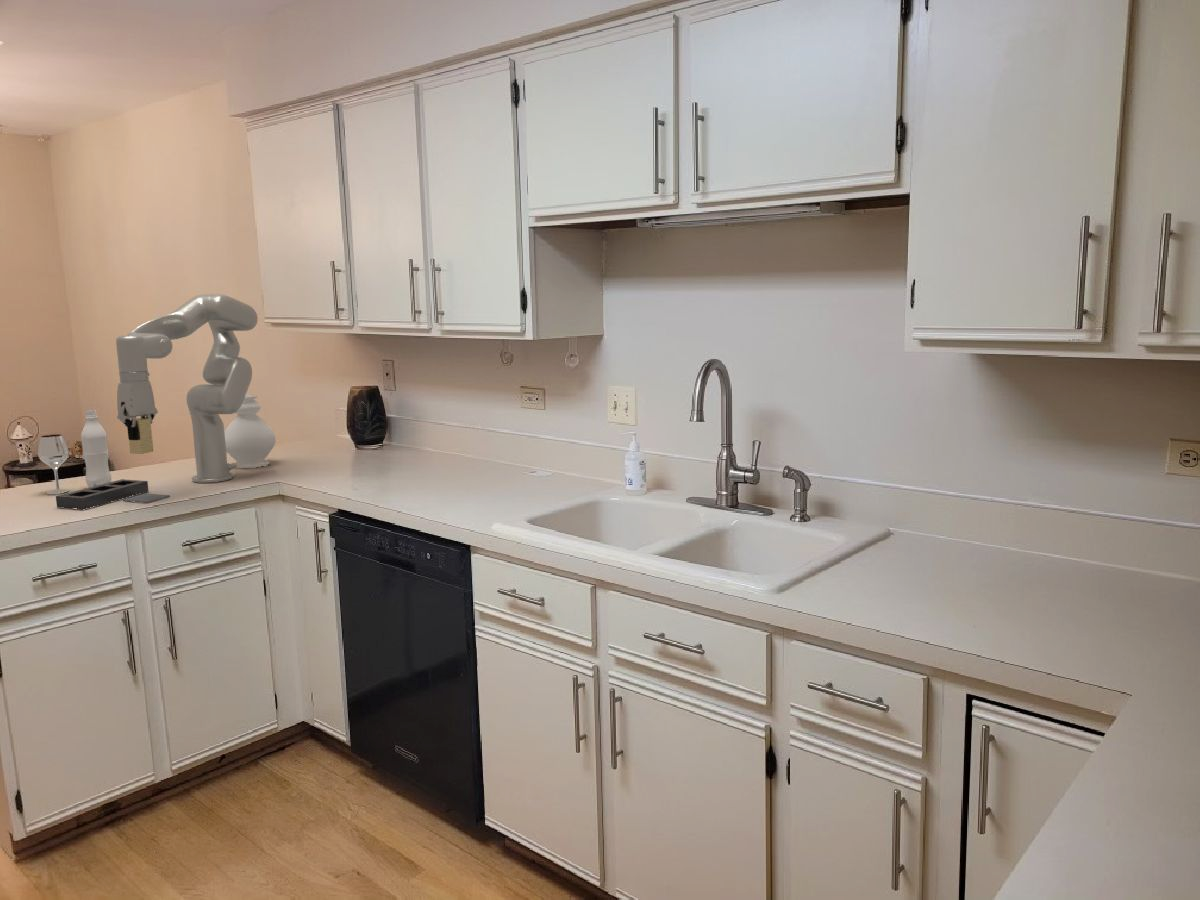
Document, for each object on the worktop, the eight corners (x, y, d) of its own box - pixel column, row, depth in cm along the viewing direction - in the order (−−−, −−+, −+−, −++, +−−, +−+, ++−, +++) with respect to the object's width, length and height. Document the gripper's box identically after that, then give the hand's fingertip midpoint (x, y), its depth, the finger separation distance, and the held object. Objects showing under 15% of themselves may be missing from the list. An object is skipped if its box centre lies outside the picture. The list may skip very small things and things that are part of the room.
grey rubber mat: (146, 494, 274) (146, 493, 274) (170, 496, 271) (169, 495, 271) (122, 501, 265) (122, 499, 265) (147, 503, 263) (147, 501, 263)
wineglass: (46, 490, 281) (39, 434, 278) (75, 488, 284) (69, 433, 280) (40, 496, 273) (33, 438, 270) (70, 494, 276) (63, 436, 273)
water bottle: (101, 490, 281) (92, 412, 276) (81, 489, 282) (72, 411, 278) (117, 485, 288) (109, 409, 283) (98, 484, 289) (89, 408, 285)
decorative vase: (255, 471, 308) (249, 399, 304) (213, 468, 314) (206, 398, 309) (287, 461, 325) (282, 394, 321) (247, 459, 331) (241, 392, 326)
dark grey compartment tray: (123, 490, 281) (122, 479, 280) (148, 491, 278) (147, 481, 277) (57, 507, 258) (55, 496, 258) (84, 510, 255) (82, 498, 255)
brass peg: (141, 450, 269) (138, 418, 267) (153, 451, 267) (150, 418, 265) (130, 453, 264) (126, 420, 263) (142, 454, 263) (138, 420, 261)
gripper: (146, 374, 271) (152, 433, 274) (100, 380, 255) (107, 442, 258) (166, 375, 269) (171, 434, 272) (121, 380, 253) (128, 443, 256)
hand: (140, 437), depth 265 cm, fingers closed on brass peg, 4 cm apart
